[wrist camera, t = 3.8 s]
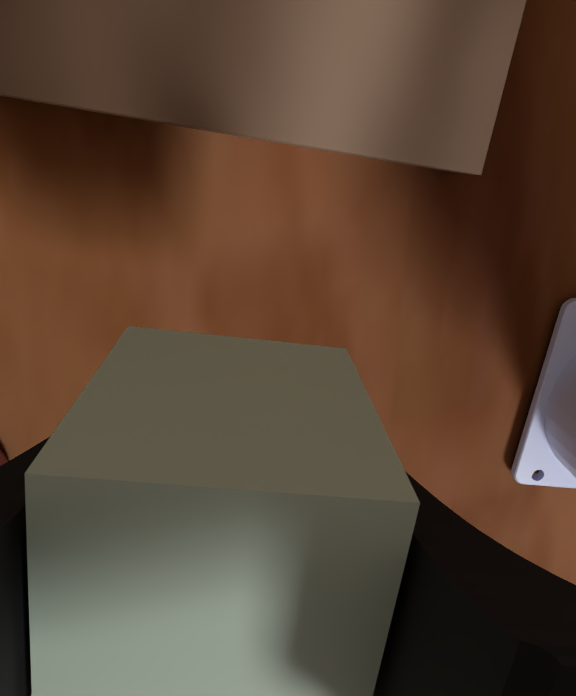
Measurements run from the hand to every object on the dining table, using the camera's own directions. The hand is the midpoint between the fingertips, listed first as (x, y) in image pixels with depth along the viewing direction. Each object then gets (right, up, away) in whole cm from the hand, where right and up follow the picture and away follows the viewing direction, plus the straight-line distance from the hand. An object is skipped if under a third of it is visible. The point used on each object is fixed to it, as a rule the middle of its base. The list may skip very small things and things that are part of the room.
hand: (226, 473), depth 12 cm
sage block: (0, +1, +2) cm, 2 cm away
